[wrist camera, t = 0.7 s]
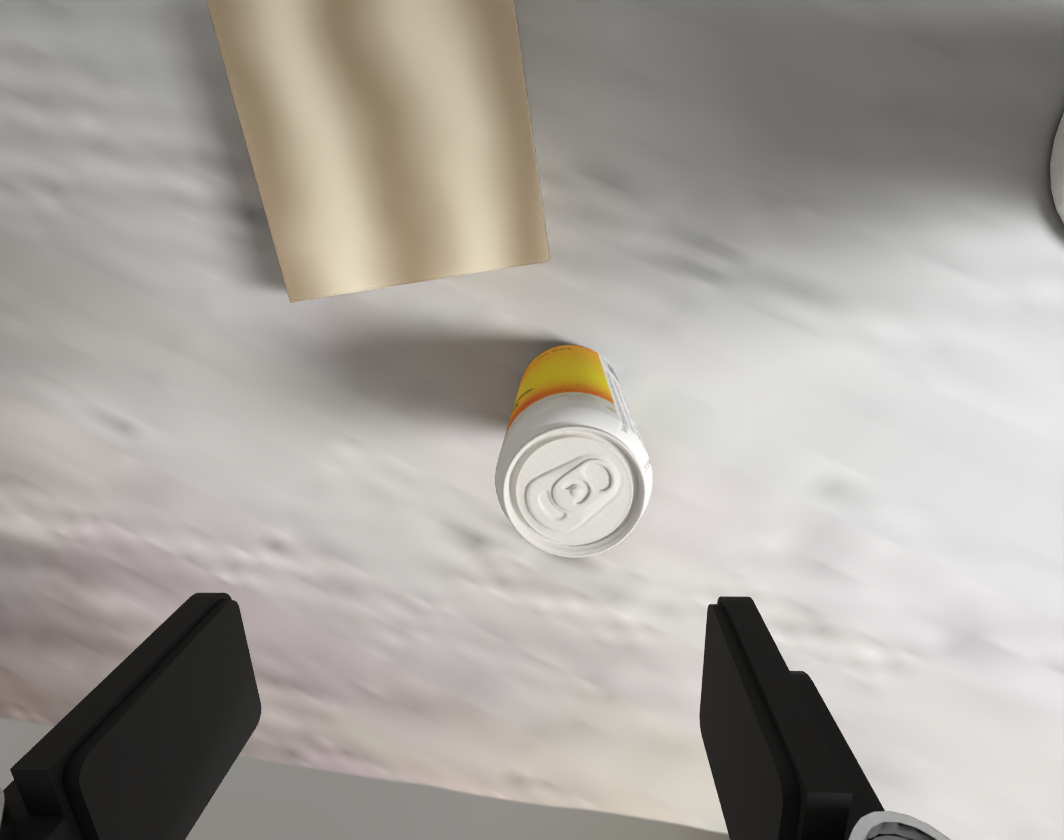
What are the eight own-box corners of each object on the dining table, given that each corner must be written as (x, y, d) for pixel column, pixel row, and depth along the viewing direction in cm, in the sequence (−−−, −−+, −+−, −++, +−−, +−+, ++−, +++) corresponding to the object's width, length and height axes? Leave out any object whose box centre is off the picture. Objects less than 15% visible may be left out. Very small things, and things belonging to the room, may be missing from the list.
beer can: (500, 380, 35) (458, 477, 21) (580, 322, 34) (594, 382, 19) (558, 454, 36) (555, 593, 22) (637, 401, 35) (689, 512, 21)
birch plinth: (510, -25, 29) (502, -66, 25) (550, 258, 33) (548, 261, 29) (251, 29, 30) (205, -2, 26) (320, 295, 34) (290, 302, 30)
